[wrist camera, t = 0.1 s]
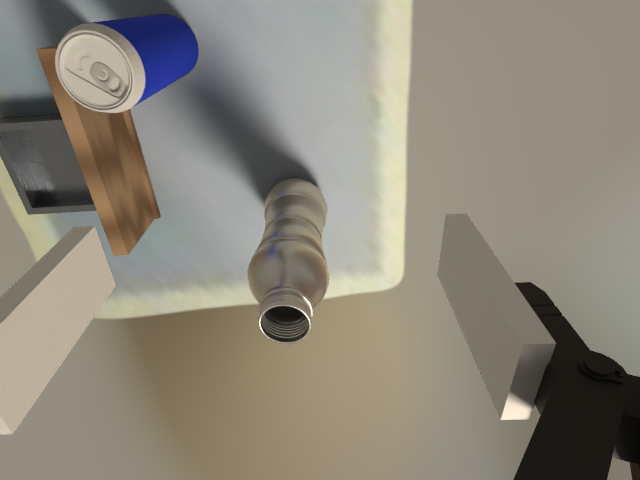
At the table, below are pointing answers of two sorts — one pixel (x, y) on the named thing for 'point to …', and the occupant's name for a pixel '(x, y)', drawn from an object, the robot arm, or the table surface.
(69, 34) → the beverage can
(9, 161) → the tray
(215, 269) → the table surface
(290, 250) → the plastic bottle
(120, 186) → the board
